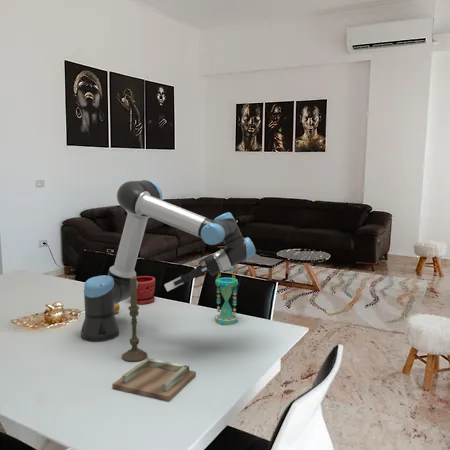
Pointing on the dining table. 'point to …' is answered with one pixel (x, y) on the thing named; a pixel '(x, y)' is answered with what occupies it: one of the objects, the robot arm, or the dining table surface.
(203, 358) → the dining table surface
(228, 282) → the decorative hourglass
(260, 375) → the dining table surface
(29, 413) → the dining table surface
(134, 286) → the candlestick holder
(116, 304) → the potato
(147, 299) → the plant pot
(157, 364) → the railed board
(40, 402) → the dining table surface
